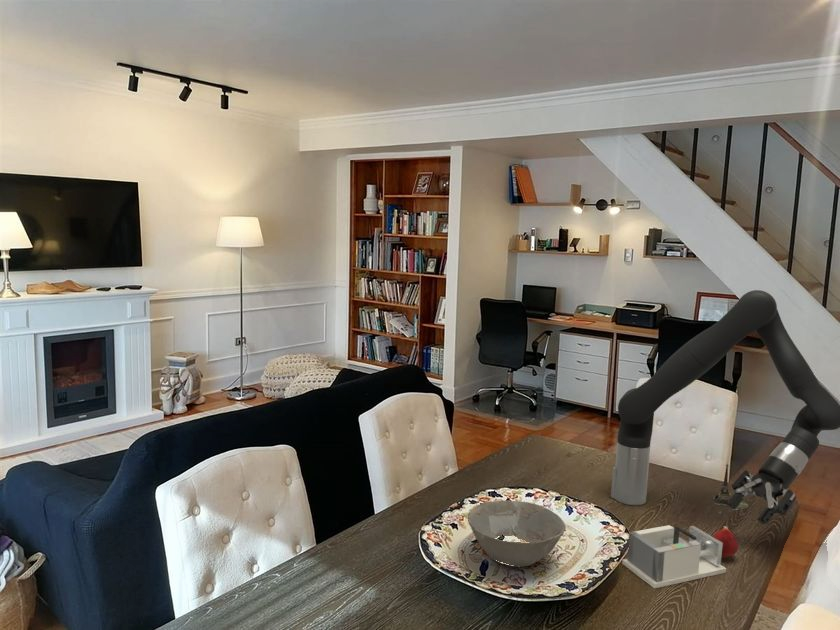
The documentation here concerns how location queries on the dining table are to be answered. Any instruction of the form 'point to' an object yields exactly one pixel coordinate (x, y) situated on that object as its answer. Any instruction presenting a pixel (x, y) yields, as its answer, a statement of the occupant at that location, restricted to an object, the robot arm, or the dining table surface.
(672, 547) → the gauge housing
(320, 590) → the dining table surface
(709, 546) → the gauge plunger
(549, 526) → the ceramic bowl
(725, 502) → the eiffel tower figurine
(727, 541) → the red pomegranate
